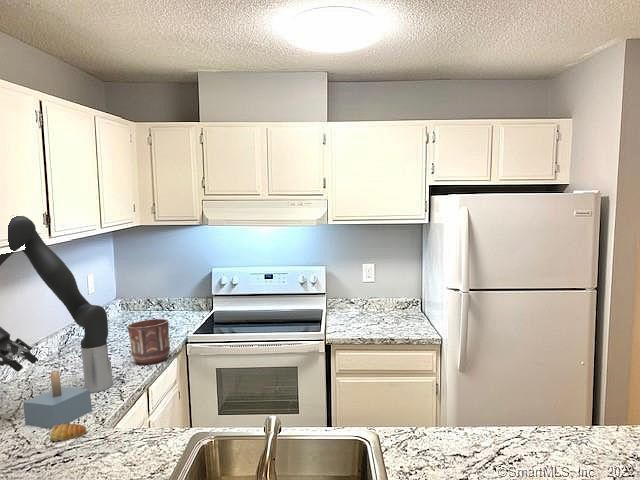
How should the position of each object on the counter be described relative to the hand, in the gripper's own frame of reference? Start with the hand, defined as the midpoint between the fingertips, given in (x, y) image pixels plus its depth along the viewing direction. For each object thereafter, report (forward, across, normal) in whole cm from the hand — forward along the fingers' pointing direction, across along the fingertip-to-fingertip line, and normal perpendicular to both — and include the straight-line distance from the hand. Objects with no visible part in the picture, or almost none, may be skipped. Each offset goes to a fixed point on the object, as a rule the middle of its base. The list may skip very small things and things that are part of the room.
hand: (28, 365), depth 156 cm
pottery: (+27, +60, -1) cm, 66 cm away
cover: (+19, 0, +7) cm, 20 cm away
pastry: (+26, -15, 0) cm, 31 cm away
